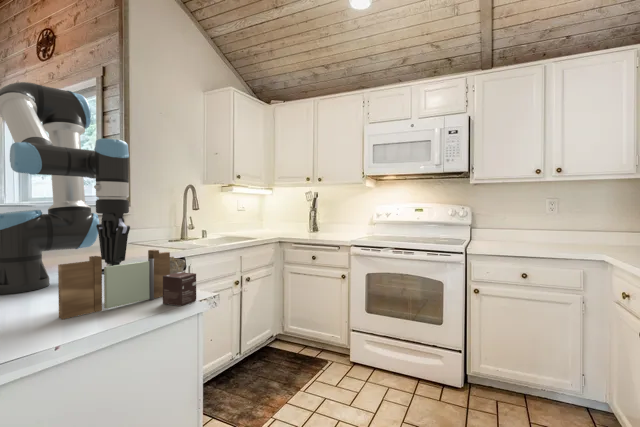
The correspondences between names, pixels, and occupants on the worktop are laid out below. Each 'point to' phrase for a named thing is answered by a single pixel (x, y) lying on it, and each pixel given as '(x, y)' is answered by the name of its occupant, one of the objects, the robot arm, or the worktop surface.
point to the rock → (176, 265)
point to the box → (179, 288)
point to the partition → (97, 283)
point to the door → (128, 283)
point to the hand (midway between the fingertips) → (113, 287)
